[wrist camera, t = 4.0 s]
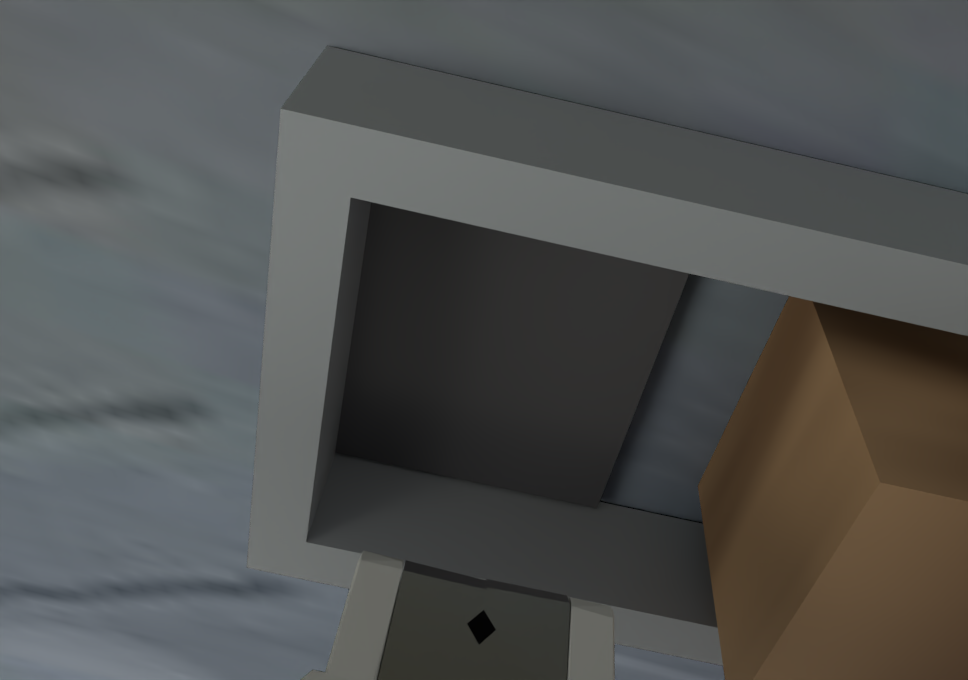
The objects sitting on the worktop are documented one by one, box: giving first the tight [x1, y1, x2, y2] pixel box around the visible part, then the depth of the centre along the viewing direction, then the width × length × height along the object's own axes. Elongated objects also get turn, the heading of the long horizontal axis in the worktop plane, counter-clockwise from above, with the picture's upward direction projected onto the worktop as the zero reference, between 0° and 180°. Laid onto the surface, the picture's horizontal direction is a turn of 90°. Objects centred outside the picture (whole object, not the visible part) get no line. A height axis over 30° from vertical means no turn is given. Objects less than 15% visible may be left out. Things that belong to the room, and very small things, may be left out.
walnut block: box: [698, 296, 968, 680], centre depth 14 cm, size 6×5×5 cm
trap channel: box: [247, 46, 968, 666], centre depth 15 cm, size 21×9×2 cm, turn 79°
